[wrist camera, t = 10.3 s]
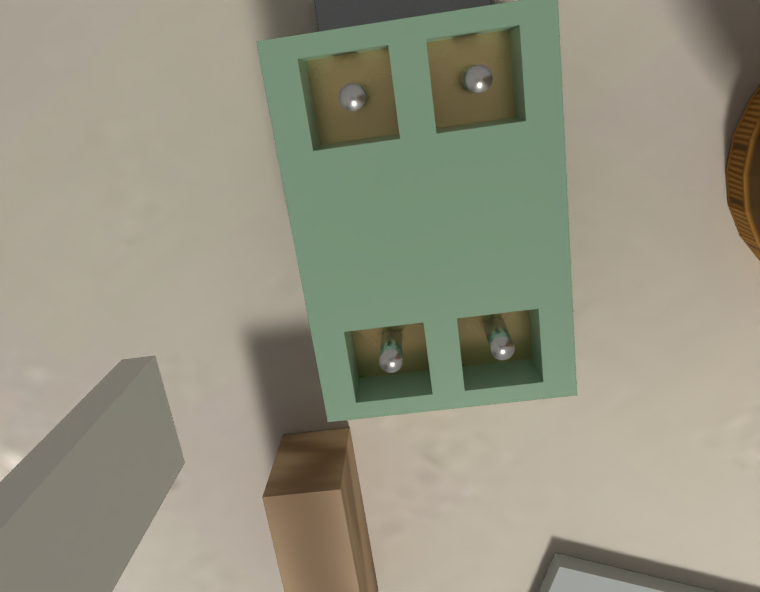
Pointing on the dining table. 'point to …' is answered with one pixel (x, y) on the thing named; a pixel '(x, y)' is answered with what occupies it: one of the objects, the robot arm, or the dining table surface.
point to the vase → (746, 175)
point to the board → (431, 215)
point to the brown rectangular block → (319, 515)
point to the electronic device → (603, 578)
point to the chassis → (379, 118)
